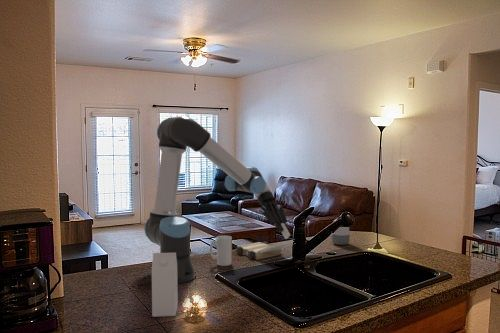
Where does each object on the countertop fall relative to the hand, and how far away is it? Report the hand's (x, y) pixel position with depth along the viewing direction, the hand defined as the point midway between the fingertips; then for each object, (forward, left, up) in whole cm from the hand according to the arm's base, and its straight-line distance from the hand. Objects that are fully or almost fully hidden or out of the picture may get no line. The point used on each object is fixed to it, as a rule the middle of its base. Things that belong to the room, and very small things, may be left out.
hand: (287, 236), depth 180 cm
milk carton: (-53, -42, -12) cm, 69 cm away
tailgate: (-5, +11, -8) cm, 15 cm away
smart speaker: (+38, +28, -12) cm, 49 cm away
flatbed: (-9, +19, -12) cm, 24 cm away
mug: (-29, +5, -12) cm, 32 cm away
